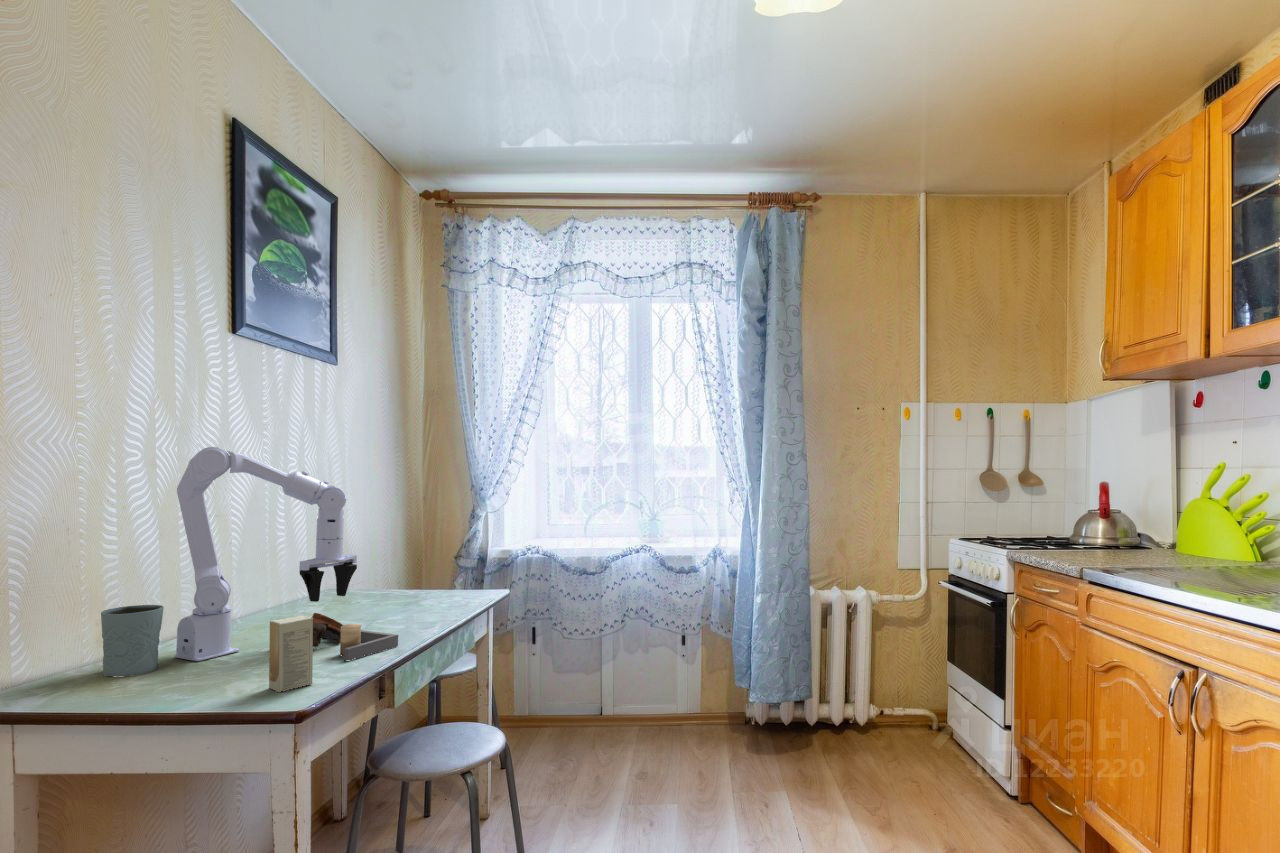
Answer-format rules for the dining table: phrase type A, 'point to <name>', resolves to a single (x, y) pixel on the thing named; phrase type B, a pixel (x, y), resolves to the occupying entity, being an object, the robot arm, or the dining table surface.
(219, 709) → the dining table surface
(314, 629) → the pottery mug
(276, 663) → the skincare box
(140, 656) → the grey green plant pot
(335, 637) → the frame
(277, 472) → the robot arm
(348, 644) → the oak dowel
